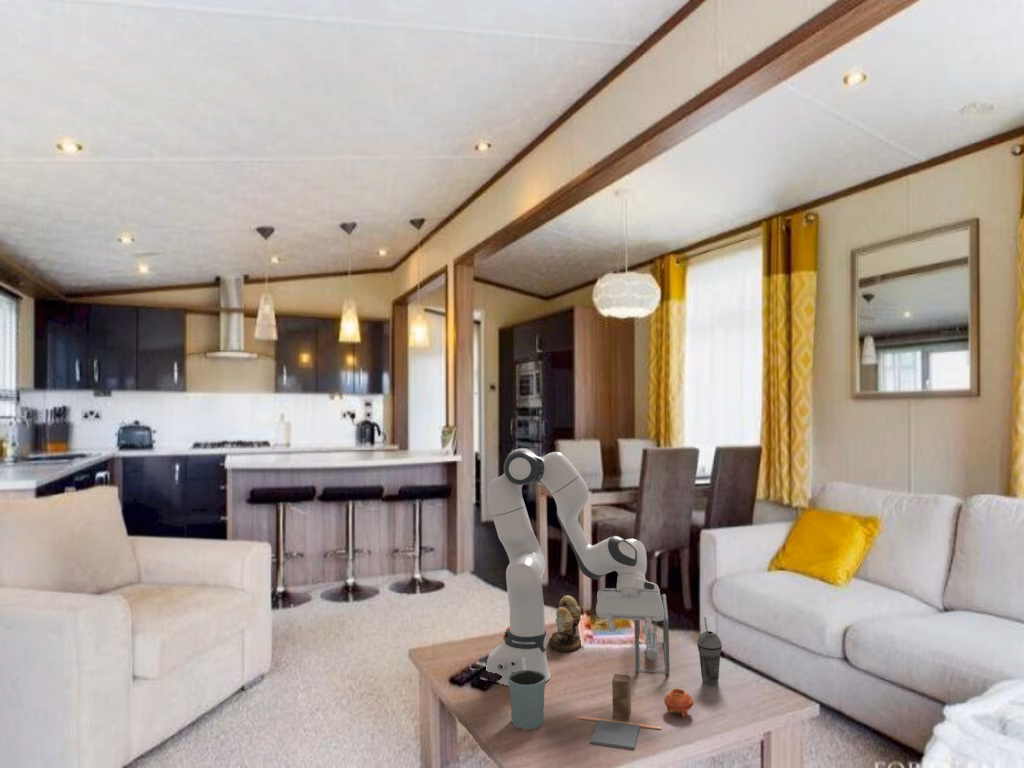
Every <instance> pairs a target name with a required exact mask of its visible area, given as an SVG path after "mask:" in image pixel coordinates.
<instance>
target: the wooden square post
mask: <svg viewBox="0 0 1024 768" xmlns="http://www.w3.org/2000/svg"><path fill="white" fill-rule="evenodd" d="M631 678H632V677H631V675H628V674H621V673H620V674H619V673H614V675H613V677H612V679H611V682H612V683H611V687H612V688H611V689H612V690H611V691H612V692H611V693H612V694H611V695H612V718H617V719H626V720H630V717H631V713H632V696H631V694H632V692H631V691H632V689H631V687H632V686H631V685H632V684H631V683H632V681H631Z"/></svg>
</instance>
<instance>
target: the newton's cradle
mask: <svg viewBox="0 0 1024 768" xmlns="http://www.w3.org/2000/svg"><path fill="white" fill-rule="evenodd" d="M660 596H661V597H662V604H663V610H664V619H663V620H662V633H663V635H662V637H663V642H661V641H658V635H657V628H658V623H659V621H655V622H654V623H653V625H652V630H651V628H650V627H649V628H648V630H647V634H645V639H646V640H645V642H646V643H645V642H644V643H645V646H646V647H645V649H646V650H645V655H646V657H647V658H648V659H649V660H651V661H652V660H653V661H654V660H656V659H657V658H658V655H659V653H658V651H659V650H658V644H663V653H664V655H663V656H664V665H665V667H664V668H665V671H663V670H650V669H649V670H648V669H640V662H641V661H640V657H641V655H640V653H641V651H640V650H641V646H640V647H639V635H640V636H641V624H640V623H641V622H640V621H641V620H634V650H635V651H634V653H635V655H634V656H635V658H634V659H635V665H634V666H635V673H640V672H647V673H649V672H651V673H660V674H661V673H663V674H666V675H670V635H669V634H670V633H669V631H670V629H669V627H670V626H669V625H670V624H669V614H668V613H669V612H668V603H667V595H666V594H665V593H663V594H660ZM646 623H647V621H646V620H644V624H646Z"/></svg>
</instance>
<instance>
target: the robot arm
mask: <svg viewBox="0 0 1024 768" xmlns="http://www.w3.org/2000/svg"><path fill="white" fill-rule="evenodd" d="M576 468H577V467H575V466H574V465H573V464H572V462H571V461H570V460H569V459H568V457H566V456H565V455H564V454H563V453H562V452H560V451H552V452H549V453H547V454H545V455H543V456H538V455H537V454H536V452H535V451H534V450H533V449H530V448H527V447H520V448H516V449H514V450H512V451H511V452H510V453H508V454H507V456H506V458H505V460H504V464H503V474H502V475H500V476H497V477H495V478H493V479H492V480H491V481H489V483H488V485H487V488H486V489H487V498H488V504H489V509H490V512H491V515H492V519H493V523H494V525H495V526H494V527H495V529H496V533H497V537H498V539H499V541H500V542H501V544H502V546H503V548H504V550H505V552H506V555H507V557H508V560H509V564H508V565H507V568H506V571H505V579H506V580H505V581H506V589H507V598H508V605H509V626H508V627H506V630H505V631H504V634H503V635H502V639H503V640H504V641H503V642H501V643H500V644H498V645H497V646H496V647H495V648H493V650H492V651H491V652H490V653H489V655H488V656H487V660H486V664H487V665H486V664H485V665H486V671H488V672H492V673H497V674H499V675H501V676H502V678H501V679H500V680H499V683H500V684H499V685H502V684H504V685H503V686H506V685H507V686H506V687H509V680H508V677H509V675H510V674H512V673H514V672H517V671H521V670H533V671H538V672H541V673H543V674H544V675H545V677H546V680H545V683H546V682H547V681H548V680H550V679H551V677H552V676H551V675H552V674H551V672H550V668H549V664H548V658H547V645H548V641H547V640H548V639H547V630H546V627H545V626H546V624H545V622H546V621H545V616H546V615H545V603H544V594H543V575H544V574H545V572H546V567H547V565H546V564H547V563H546V558H545V556H544V553H543V551H542V549H541V546H540V544H539V541H538V538H537V536H536V534H535V532H534V529H533V526H532V524H531V520H530V517H529V516H530V515H529V514H528V510H527V507H526V504H525V501H524V498H523V492H522V490H523V489H522V488H523V486H526V485H529V484H532V483H535V482H538V481H540V482H541V483H543V484H544V485H545V487H546V488H547V490H548V491H549V494H551V496H552V498H553V500H554V501H555V505H556V517H557V520H558V522H559V525H560V527H561V529H562V531H563V533H564V535H565V537H566V539H567V542H568V544H569V546H570V547H571V549H572V551H573V553H574V556H575V558H576V561H577V564H578V567H579V570H580V572H581V573H582V574H583V575H584V576H585V577H587V578H589V579H591V580H599V579H600V578H603V577H604V576H606V575H607V574H609V573H610V574H611V573H612V572H616V573H617V579H616V581H617V582H616V587H615V588H612V587H610V588H609V587H608V588H607V587H602V588H600V589H599V590H598V591H597V592H596V594H597V595H596V600H597V601H596V604H595V613H596V616H597V617H598V618H601V619H606V620H607V622H608V625H609V632H611V633H616V623H612V622H613V620H615V619H616V620H628V621H629V620H631V621H633V620H634V621H635V620H640V621H646V622H647V623H644V625H641V634H643V635H646V634H647V630H648V628H649V629H650V628H651V625H652V622H657V621H658V622H663V619H664V610H663V598H662V596H660V595H661V592H660V591H661V590H660V588H659V585H658V584H656V583H653V582H650V581H648V580H647V579H646V573H647V569H648V568H647V567H648V559H647V551H646V548H645V545H644V544H643V542H641V541H640V540H639V539H638V540H637V539H636V538H635V539H634V538H627V539H624V538H623V537H621V536H618V535H613V536H610V537H608V538H606V539H603V540H601V541H600V542H598V543H595V544H590V543H589V541H588V538H587V537H586V536H587V535H585V532H584V530H583V528H582V527H581V525H580V522H579V517H580V516H579V515H580V513H581V511H582V510H583V509H584V507H585V506H586V504H587V502H588V499H589V487H588V486H587V483H586V482H585V480H584V478H583V477H582V475H581V474H580V473H579V471H578V470H577V469H576ZM648 631H649V630H648Z"/></svg>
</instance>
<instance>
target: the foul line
mask: <svg viewBox="0 0 1024 768" xmlns="http://www.w3.org/2000/svg"><path fill="white" fill-rule="evenodd" d="M578 719H579V720H586V721H592V722H598V720H605V721H612V722H620V723H627V724H635V725H640V728H644V729H645V728H646V729H652V730H659V731H661V730H662V726H658V725H657V726H656V725H652V724H643V723H635V722H628V721H627V722H626V721H620V720H612V719H606V718H605V719H604V718H599V717H598V718H597V717H589V716H583V715H582V716H581V715H580V716H578Z"/></svg>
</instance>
